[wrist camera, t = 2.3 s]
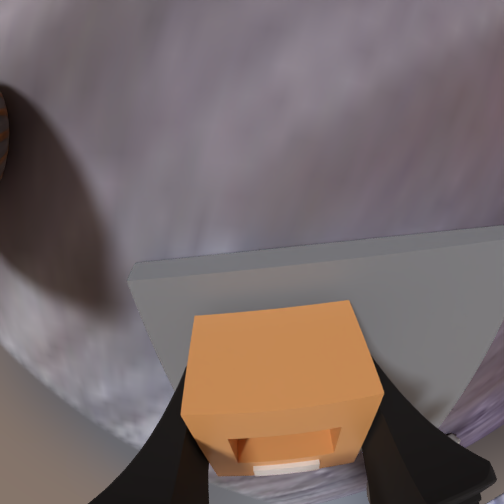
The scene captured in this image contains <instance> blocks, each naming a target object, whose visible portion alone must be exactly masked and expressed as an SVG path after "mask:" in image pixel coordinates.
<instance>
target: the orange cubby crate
mask: <svg viewBox="0 0 504 504" xmlns="http://www.w3.org/2000/svg"><path fill="white" fill-rule="evenodd" d="M383 395H384V390H383V387H382V385H381V382H380V379H379V376H378V373H377V371H376V368H375V365H374V363H373V360H372V357H371V355H370V352H369V349H368V347H367V344H366V341H365V339H364V336H363V334H362V331H361V329H360V326H359V323H358V321H357V318H356V316H355V314H354V311H353V309H352V306H351V304H350V301H349V300H344V301H337V302H329V303H321V304H313V305H305V306H296V307H287V308H278V309H268V310H258V311H247V312H236V313H224V314H212V315H198V316H194V323H193V329H192V335H191V342H190V349H189V355H188V362H187V369H186V377H185V384H184V391H183V399H182V407H181V417H182V418H183V420H184V422H185V424H186V425H187V427H188V429H189V430H190V432H191V434H192V436H193V437H194V439H195V440H196V442H197V444H198V445H199V447H200V449H201V450H202V452H203V453H204V455H205V457H206V458H207V460H208V461H209V463H210V464H211V466H212V468H213V469H214V471H215V472H216V474H217V475H218V476H248V475H255V476H266V475H278V474H288V473H297V472H305V471H312V470H319V468H324V467H330V466H336V465H341V464H347V463H352V462H354V461H355V459H356V457H357V455H358V453H359V451H360V448H361V446H362V444H363V442H364V440H365V438H366V436H367V433H368V431H369V429H370V427H371V424H372V422H373V420H374V417H375V415H376V413H377V410H378V408H379V405H380V403H381V401H382V398H383Z"/></svg>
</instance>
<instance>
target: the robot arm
mask: <svg viewBox="0 0 504 504" xmlns="http://www.w3.org/2000/svg"><path fill="white" fill-rule="evenodd" d="M370 355H371V354H370ZM371 357H372V355H371ZM372 360H373V363H374V365H375V368H376V371H377V373H378V376H379V379H380V382H381V385H382V387H383V390H384V395H383V398H382V401H381V403H380V405H379V408H378V410H377V413H376V415H375V417H374V420H373V422H372V424H371V427H370V429H369V431H368V433H367V436H366V438H365V440H364V442H363V444H362V446H361V448H362V452H363V456H364V461H365V467H366V473H367V480H368V487H369V495H370V504H479V501H480V500H481V495H480V492H482V491H484V490H485V489H487V488H488V487H489V486H491V485H493V484H494V483H495V482H496V480H497V478H496V475H495V473H494V470H493V467H492V466H491V464H490V462H489V461H487V460H486V459H484V458H482V457H480V456H478V455H476V454H474V453H472V452H471V451H469V450H468V449H466V448H464V447H463V446H461V445H460V444H458V443H457V442H455V441H454V440H453V439H451V438H450V437H448V436H447V435H446V434H444V433H443V432H442V431H440V430H439V429H438V428H437V427H435V426H434V425H433V424H432V423H431V422H430V421H428V420H427V419H426V418H425V417H424V416H423V415H422V414H421V413H420V412H419V411H418V410H417V409H416V408H415V407H414V406H413V405H412V404H411V403H410V402H409V401H408V400H407V399H406V398H405V397H404V396H403V394H402V393H401V392H400V391H399V390H398V389H397V387H396V386H395V385H394V384H393V383H392V382H391V380H390V379H389V378H388V377H387V375H386V374H385V373H384V372H383V370H382V369H381V368H380V366H379V365H378V364H377V362H376V361H375V360H374V358H373V357H372ZM186 369H187V366H186V367H185V370H184V372H183V375H182V377H181V379H180V382H179V384H178V386H177V388H176V390H175V393H174V395H173V397H172V399H171V401H170V403H169V404H168V406H167V408H166V410H165V412H164V414H163V416H162V418H161V419H160V421H159V423H158V424H157V426H156V428H155V429H154V431H153V433H152V434H151V436H150V437H149V439H148V440H147V442H146V443H145V444H144V446H143V447H142V449H141V450H140V451H139V453H138V454H137V455H136V456H135V458H134V459H133V460H132V461H131V463H130V464H129V465H128V466H127V467H126V469H125V470H124V471H123V472H122V473H121V474H120V475H119V476H118V477H117V478H116V479H115V480H114V481H113V482H112V483H111V484H110V485H109V486H108V487H107V488H106V489H105V490H104V491H103V492H102V493H100V494H99V495H98V496H97V497H96V498H94V499H93V500H92V501H91V502H90V503H88V504H209V493H208V469H209V461H208V460H207V458H206V457H205V455H204V453H203V452H202V450H201V449H200V447H199V445H198V444H197V442H196V440H195V439H194V437H193V436H192V434H191V432H190V430H189V429H188V427H187V425H186V424H185V422H184V420H183V418H182V417H181V407H182V399H183V391H184V384H185V377H186ZM486 504H504V493H502V494H501V495H499V496H498V497H496V498H495V499H493V500H491V501H489V502H487V503H486Z"/></svg>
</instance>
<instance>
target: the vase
mask: <svg viewBox="0 0 504 504" xmlns="http://www.w3.org/2000/svg"><path fill="white" fill-rule="evenodd" d="M8 148H9V120H8V114H7V109H6V105H5V101H4V98H3V96H2V93H1V91H0V181H1V178H2V175H3V172H4V168H5V164H6V160H7V155H8Z"/></svg>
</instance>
